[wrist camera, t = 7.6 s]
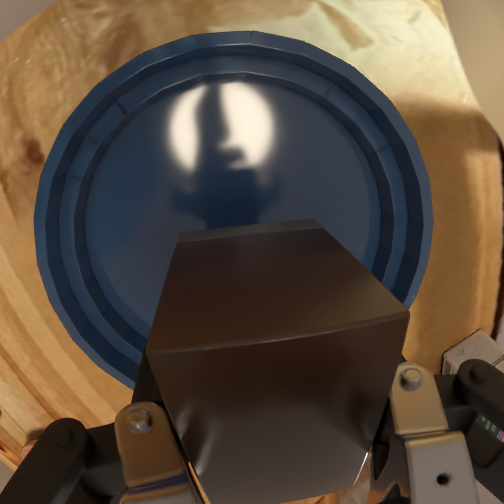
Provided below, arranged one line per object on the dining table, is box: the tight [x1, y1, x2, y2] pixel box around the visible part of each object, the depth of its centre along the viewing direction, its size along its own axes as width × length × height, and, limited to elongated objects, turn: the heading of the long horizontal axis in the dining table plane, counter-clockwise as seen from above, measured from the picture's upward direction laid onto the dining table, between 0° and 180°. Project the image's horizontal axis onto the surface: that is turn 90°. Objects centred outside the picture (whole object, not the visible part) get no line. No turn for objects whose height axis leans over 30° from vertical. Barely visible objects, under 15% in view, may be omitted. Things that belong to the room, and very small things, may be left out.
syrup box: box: [442, 330, 504, 442], centre depth 20 cm, size 6×6×14 cm
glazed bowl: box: [34, 31, 433, 390], centre depth 17 cm, size 23×23×4 cm
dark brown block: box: [146, 219, 410, 504], centre depth 9 cm, size 7×4×6 cm, turn 4°
